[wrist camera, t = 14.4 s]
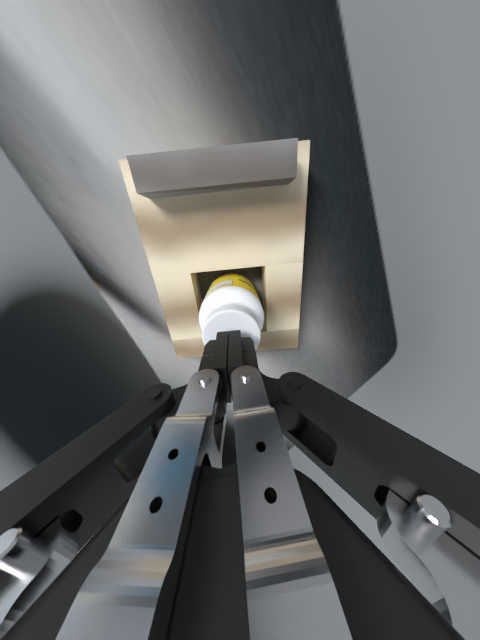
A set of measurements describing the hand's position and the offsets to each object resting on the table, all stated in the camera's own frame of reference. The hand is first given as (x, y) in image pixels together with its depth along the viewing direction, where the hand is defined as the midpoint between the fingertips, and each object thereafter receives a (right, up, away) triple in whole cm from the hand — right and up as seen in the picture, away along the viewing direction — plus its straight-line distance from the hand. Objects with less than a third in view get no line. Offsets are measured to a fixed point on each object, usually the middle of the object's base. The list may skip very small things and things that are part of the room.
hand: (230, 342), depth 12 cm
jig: (-1, +7, +8) cm, 11 cm away
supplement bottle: (0, +5, +9) cm, 10 cm away
